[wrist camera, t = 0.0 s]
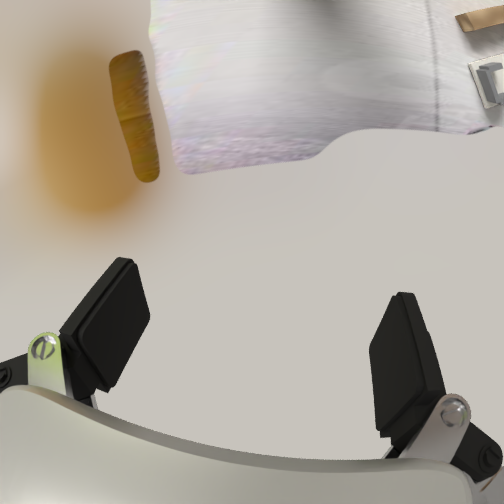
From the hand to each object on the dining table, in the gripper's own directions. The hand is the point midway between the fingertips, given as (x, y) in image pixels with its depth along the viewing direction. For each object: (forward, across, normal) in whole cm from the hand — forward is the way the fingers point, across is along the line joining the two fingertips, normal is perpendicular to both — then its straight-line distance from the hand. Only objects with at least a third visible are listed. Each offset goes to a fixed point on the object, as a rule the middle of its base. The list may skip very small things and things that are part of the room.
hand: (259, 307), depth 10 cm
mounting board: (+37, -39, -20) cm, 57 cm away
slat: (+37, -32, -29) cm, 58 cm away
